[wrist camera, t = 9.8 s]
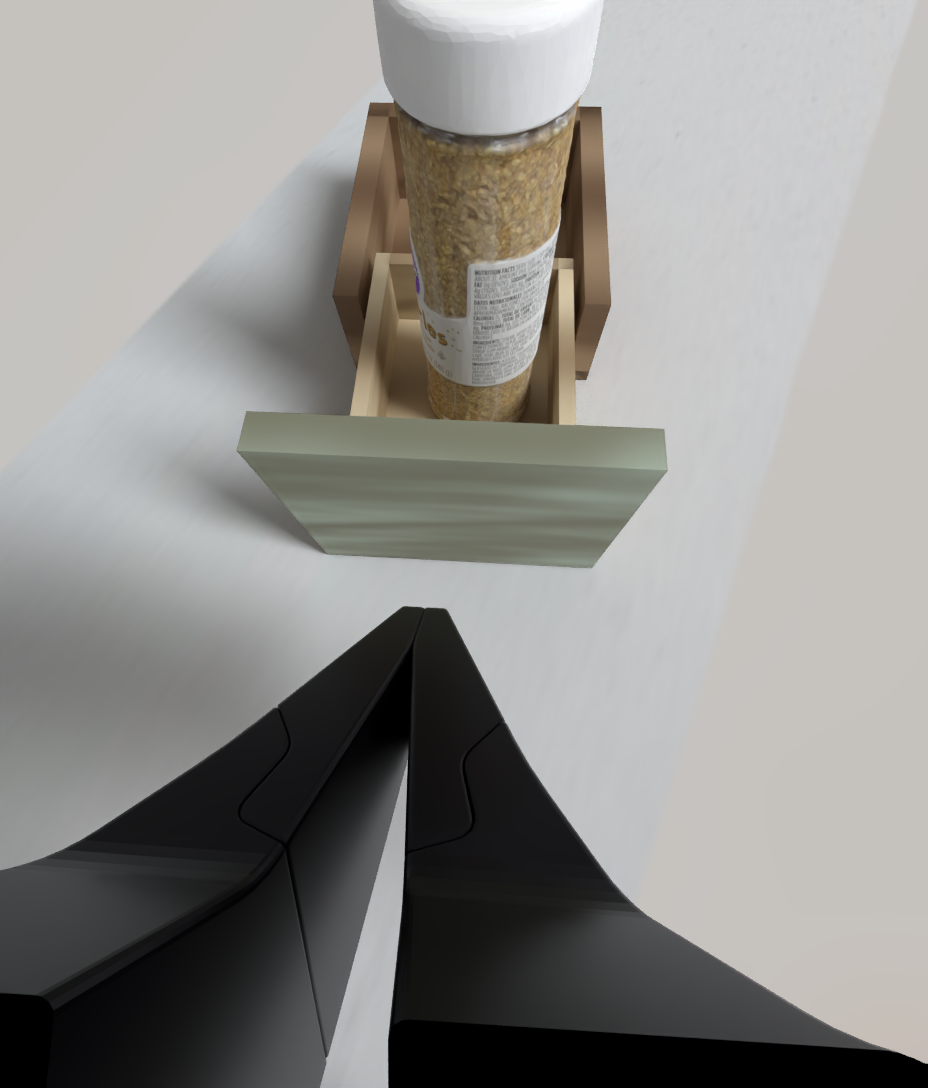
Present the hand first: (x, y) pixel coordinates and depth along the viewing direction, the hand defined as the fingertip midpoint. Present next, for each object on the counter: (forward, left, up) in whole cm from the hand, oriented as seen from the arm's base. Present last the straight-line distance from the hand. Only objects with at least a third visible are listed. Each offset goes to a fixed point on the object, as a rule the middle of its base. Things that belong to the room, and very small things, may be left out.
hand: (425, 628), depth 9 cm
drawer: (+10, -4, -10) cm, 15 cm away
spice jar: (+11, -5, -9) cm, 15 cm away
